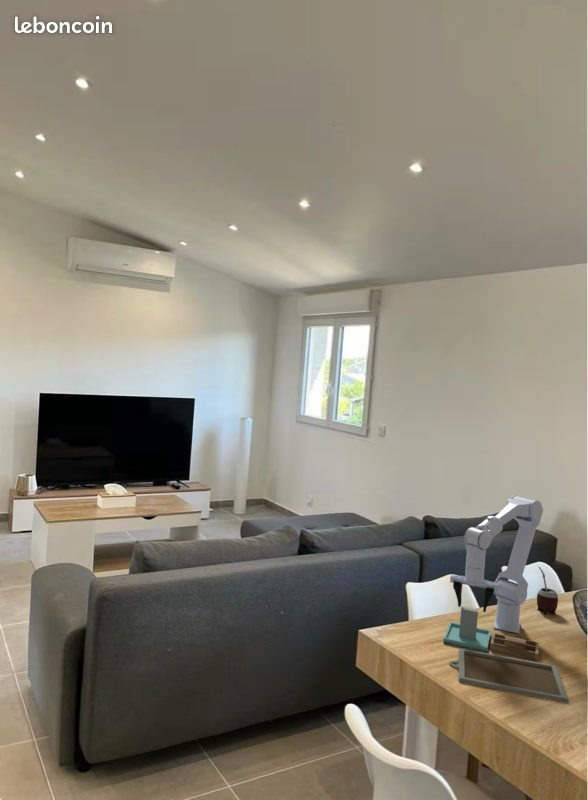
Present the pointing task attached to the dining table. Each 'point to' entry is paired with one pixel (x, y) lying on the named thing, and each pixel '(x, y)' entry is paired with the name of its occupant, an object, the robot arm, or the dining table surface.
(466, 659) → the gray framed board
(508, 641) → the offcut upper
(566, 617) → the dining table surface
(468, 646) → the tray
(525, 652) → the rack
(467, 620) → the slate gray block
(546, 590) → the mate gourd
